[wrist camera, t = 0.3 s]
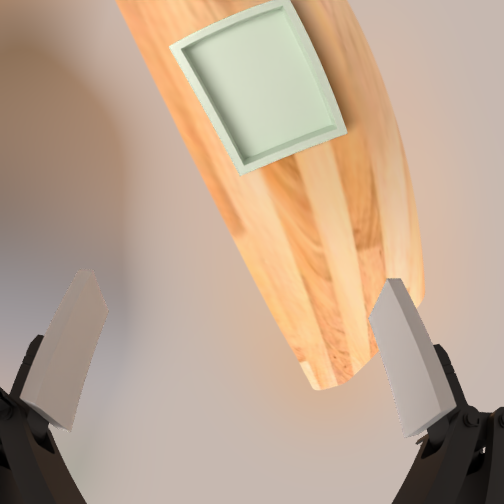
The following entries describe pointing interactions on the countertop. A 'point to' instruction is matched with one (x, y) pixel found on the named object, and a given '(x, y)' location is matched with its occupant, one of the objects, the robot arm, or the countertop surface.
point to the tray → (261, 84)
